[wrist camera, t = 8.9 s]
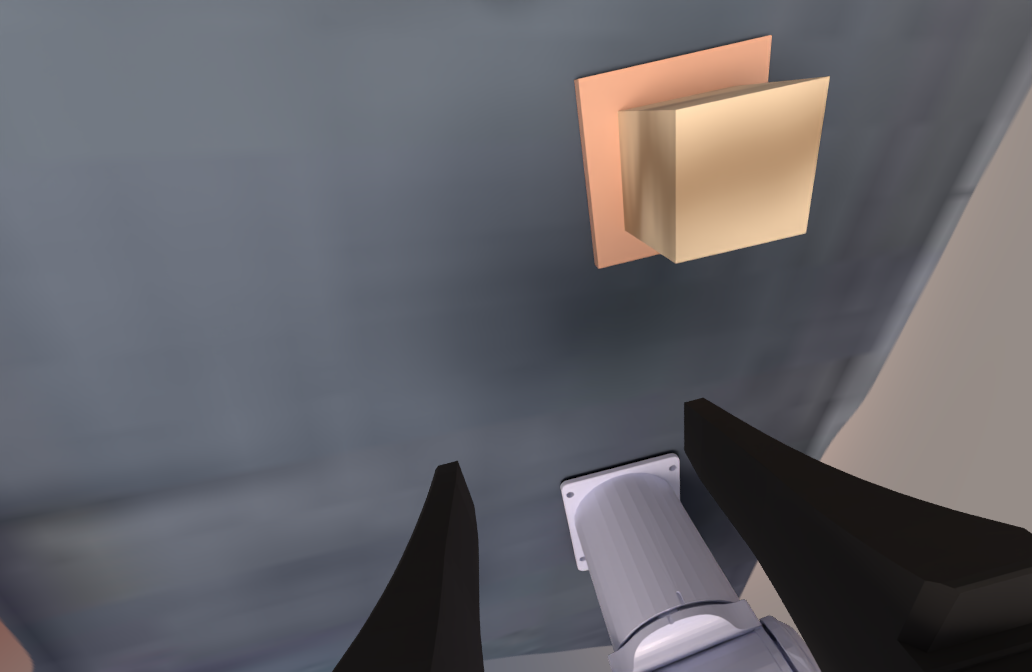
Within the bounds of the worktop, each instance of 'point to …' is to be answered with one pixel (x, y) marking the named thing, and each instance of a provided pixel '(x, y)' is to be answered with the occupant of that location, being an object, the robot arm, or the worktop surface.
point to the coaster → (636, 89)
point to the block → (721, 167)
